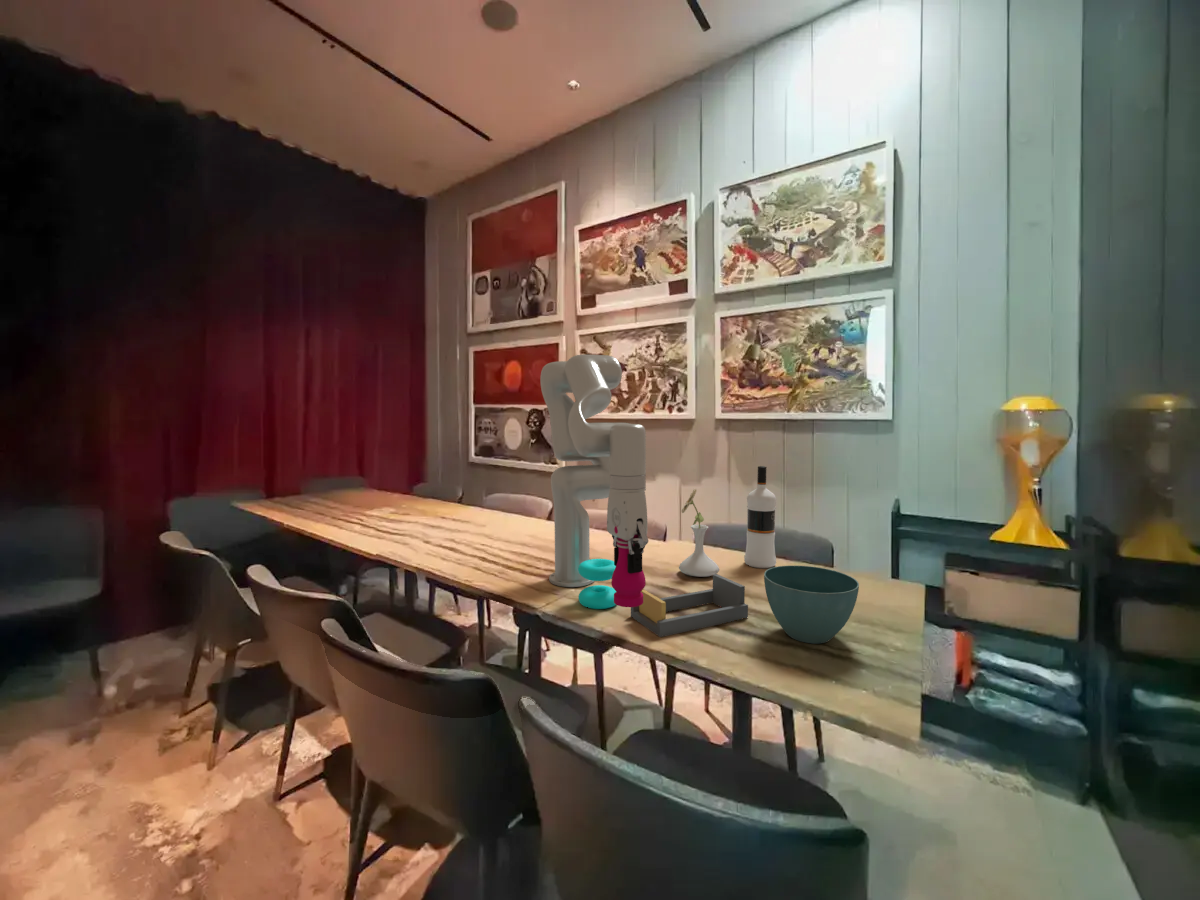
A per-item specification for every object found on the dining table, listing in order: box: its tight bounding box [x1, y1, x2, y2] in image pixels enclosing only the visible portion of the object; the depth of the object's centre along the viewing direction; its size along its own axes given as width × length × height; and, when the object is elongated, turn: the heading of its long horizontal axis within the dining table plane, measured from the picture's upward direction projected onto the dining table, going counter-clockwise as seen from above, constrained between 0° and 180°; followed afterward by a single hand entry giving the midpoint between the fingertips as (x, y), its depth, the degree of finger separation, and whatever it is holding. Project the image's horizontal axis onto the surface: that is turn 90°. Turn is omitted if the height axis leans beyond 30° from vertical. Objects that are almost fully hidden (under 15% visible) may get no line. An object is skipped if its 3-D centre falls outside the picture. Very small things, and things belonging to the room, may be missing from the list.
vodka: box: [743, 465, 777, 569], centre depth 162 cm, size 9×9×30 cm
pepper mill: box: [611, 526, 647, 608], centre depth 114 cm, size 7×7×20 cm
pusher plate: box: [639, 588, 667, 623], centre depth 117 cm, size 9×1×6 cm, turn 26°
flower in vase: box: [678, 488, 720, 578], centre depth 152 cm, size 13×11×25 cm
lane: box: [630, 573, 749, 638], centre depth 122 cm, size 12×23×7 cm, turn 116°
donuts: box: [577, 558, 617, 610], centre depth 131 cm, size 10×10×10 cm
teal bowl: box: [763, 565, 860, 645], centre depth 112 cm, size 18×18×12 cm
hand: (627, 567), depth 114 cm, fingers closed on pepper mill, 5 cm apart
